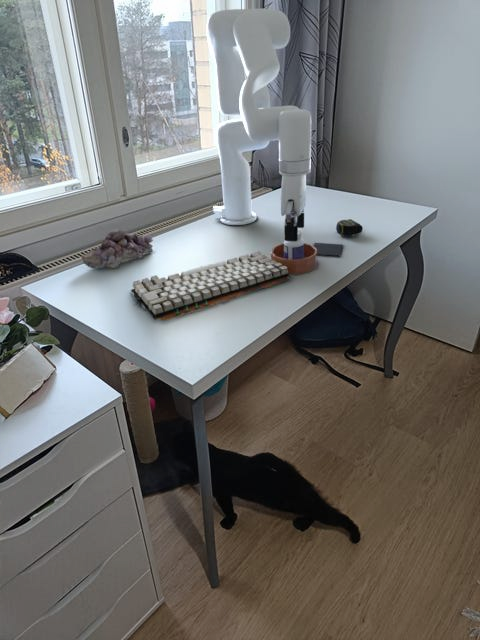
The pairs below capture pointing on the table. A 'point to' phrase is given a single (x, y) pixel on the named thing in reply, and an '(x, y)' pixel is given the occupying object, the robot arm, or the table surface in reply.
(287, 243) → the pill bottle
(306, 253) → the bowl
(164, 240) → the table surface
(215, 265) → the mechanical keyboard
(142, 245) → the mineral specimen
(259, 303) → the table surface
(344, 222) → the tape measure
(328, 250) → the coaster
